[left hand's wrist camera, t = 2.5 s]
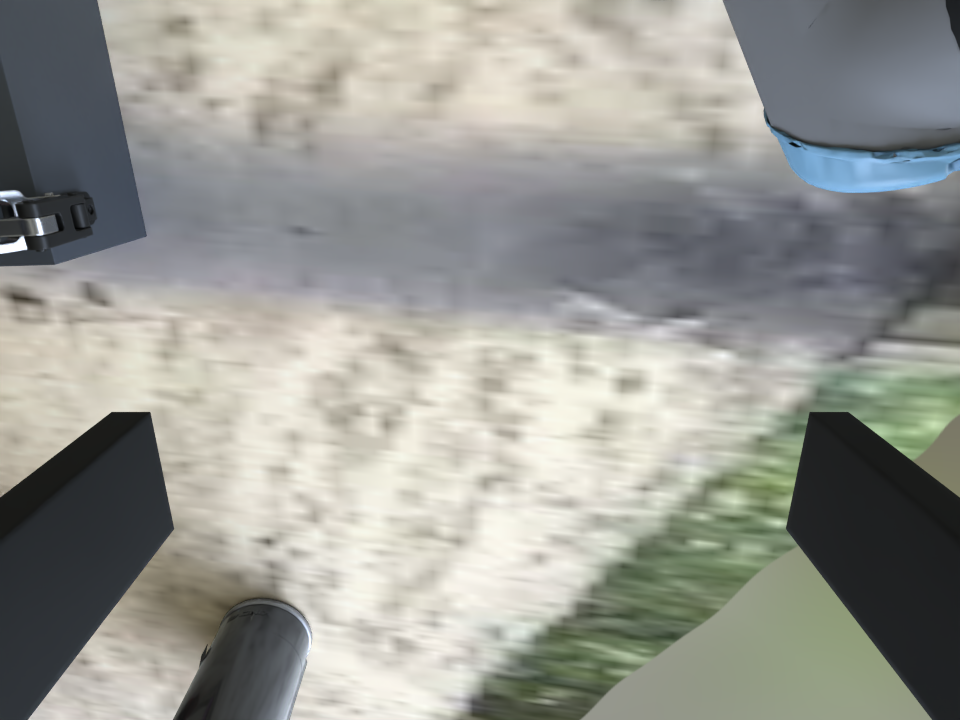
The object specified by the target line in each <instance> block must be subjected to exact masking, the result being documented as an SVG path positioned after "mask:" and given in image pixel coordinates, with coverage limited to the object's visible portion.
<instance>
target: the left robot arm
mask: <svg viewBox="0 0 960 720" xmlns="http://www.w3.org/2000/svg"><path fill="white" fill-rule="evenodd" d="M723 2H724V5H725V8H726V10H727V13H728V15H729V18H730V21H731V23H732V26H733V28H734V31H735V33H736V36H737V39H738V41H739V44H740V46H741V49H742V52H743V54H744V57H745V59H746V62H747V65H748V67H749V70H750V72H751V75H752V77H753V80H754V83H755V85H756V88H757V90H758V93H759V96H760V98H761V101H762V103H763V106H764V118H765V121H766V124H767V126H768V127H770V130H771V132H772V133H773V134H774V135H775V136H776V137H777V138H778V140H779V143H780V145H781V147H782V149H783V152H784V154H785V156H786V158H787V160H788V163H789V165H790V167H791V168H792V170H793V171H794V172H795V173H796V174H797V175H798V176H799V177H800V178H801V179H803V180H804V181H805V182H807V183H809V184H811V185H814V186H816V187H818V188H822V189H826V190H831V191H837V192H847V193H864V192H881V191H890V190H898V189H905V188H910V187H916V186H920V185H925V184H929V183H933V182H937V181H940V180H944V179H945V178H946V177H947V175H948V174H950V173H952V172H953V171H960V0H723ZM173 530H174V526H173V521H172V516H171V512H170V507H169V502H168V497H167V492H166V487H165V482H164V477H163V472H162V467H161V462H160V458H159V453H158V448H157V443H156V438H155V433H154V428H153V423H152V418H151V413H150V412H111V413H110V414H109V415H107V416H106V417H105V418H103V419H102V420H101V421H100V422H98V423H97V424H96V425H94V426H93V427H92V428H90V429H89V430H88V431H87V432H85V433H84V434H83V435H81V436H80V437H79V438H77V439H76V440H75V441H73V442H72V443H71V444H70V445H68V446H67V447H66V448H64V449H63V450H62V451H60V452H59V453H58V454H57V455H55V456H54V457H53V458H51V459H50V460H49V461H47V462H46V463H45V464H43V465H42V466H41V467H40V468H38V469H37V470H36V471H34V472H33V473H32V474H30V475H29V476H28V477H27V478H25V479H24V480H23V481H21V482H20V483H19V484H17V485H16V486H15V487H13V488H12V489H11V490H10V491H8V492H7V493H6V494H4V495H3V496H2V497H0V720H28V719H29V717H30V716H31V715H32V714H33V712H34V711H35V710H36V708H37V707H38V706H39V704H40V703H41V702H42V700H43V699H44V698H45V697H46V695H47V694H48V693H49V691H50V690H51V689H52V687H53V686H54V685H55V684H56V682H57V681H58V680H59V678H60V677H61V676H62V674H63V673H64V672H65V670H66V669H67V668H68V667H69V665H70V664H71V663H72V661H73V660H74V659H75V657H76V656H77V655H78V654H79V652H80V651H81V650H82V648H83V647H84V646H85V644H86V643H87V642H88V640H89V639H90V638H91V637H92V635H93V634H94V633H95V631H96V630H97V629H98V627H99V626H100V625H101V623H102V622H103V621H104V620H105V618H106V617H107V616H108V614H109V613H110V612H111V610H112V609H113V608H114V607H115V605H116V604H117V603H118V601H119V600H120V599H121V597H122V596H123V595H124V593H125V592H126V591H127V590H128V588H129V587H130V586H131V584H132V583H133V582H134V580H135V579H136V578H137V577H138V575H139V574H140V573H141V571H142V570H143V569H144V567H145V566H146V565H147V563H148V562H149V561H150V560H151V558H152V557H153V556H154V554H155V553H156V552H157V550H158V549H159V548H160V547H161V545H162V544H163V543H164V541H165V540H166V539H167V537H168V536H169V535H170V533H171V532H172V531H173ZM786 530H787V531H788V532H789V533H790V535H791V536H792V537H793V539H794V540H795V541H796V543H797V544H798V545H799V547H800V548H801V549H802V550H803V552H804V553H805V554H806V556H807V557H808V558H809V560H810V561H811V562H812V563H813V565H814V566H815V567H816V569H817V570H818V571H819V573H820V574H821V575H822V577H823V578H824V579H825V580H826V582H827V583H828V584H829V586H830V587H831V588H832V590H833V591H834V592H835V593H836V595H837V596H838V597H839V599H840V600H841V601H842V603H843V604H844V605H845V607H846V608H847V609H848V610H849V612H850V613H851V614H852V616H853V617H854V618H855V620H856V621H857V622H858V623H859V625H860V626H861V627H862V629H863V630H864V631H865V633H866V634H867V635H868V637H869V638H870V639H871V640H872V642H873V643H874V644H875V646H876V647H877V648H878V650H879V651H880V652H881V654H882V655H883V656H884V657H885V659H886V660H887V661H888V663H889V664H890V665H891V667H892V668H893V669H894V670H895V672H896V673H897V674H898V676H899V677H900V678H901V680H902V681H903V682H904V684H905V685H906V686H907V687H908V689H909V690H910V691H911V693H912V694H913V695H914V697H915V698H916V699H917V700H918V702H919V703H920V704H921V706H922V707H923V708H924V710H925V711H926V712H927V714H928V715H929V716H930V717H931V719H932V720H960V497H958V496H957V495H956V494H954V493H953V492H952V491H950V490H949V489H948V488H947V487H945V486H944V485H943V484H941V483H940V482H939V481H937V480H936V479H935V478H933V477H932V476H931V475H930V474H928V473H927V472H926V471H924V470H923V469H922V468H920V467H919V466H918V465H916V464H915V463H914V462H913V461H911V460H910V459H909V458H907V457H906V456H905V455H903V454H902V453H901V452H900V451H898V450H897V449H896V448H894V447H893V446H892V445H890V444H889V443H888V442H887V441H885V440H884V439H883V438H881V437H880V436H879V435H877V434H876V433H875V432H873V431H872V430H871V429H870V428H868V427H867V426H866V425H864V424H863V423H862V422H860V421H859V420H858V419H857V418H855V417H854V416H853V415H851V414H850V413H849V412H810V413H809V418H808V423H807V428H806V433H805V438H804V443H803V448H802V453H801V458H800V462H799V467H798V472H797V477H796V482H795V487H794V492H793V497H792V502H791V507H790V512H789V516H788V521H787V526H786Z"/></svg>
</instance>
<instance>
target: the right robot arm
mask: <svg viewBox="0 0 960 720" xmlns="http://www.w3.org/2000/svg"><path fill="white" fill-rule="evenodd" d="M0 207H1V210H2V213H3V217H4V218H0V241H1V237H7V239H6V240H5V241H3V242H0V254H3V253H9V252H15V251H22V250H36V252H43V251H47V250H46V249H49V248H53V247H56V246H59V245H63V244H66V243H69V242H72V241H75V240H78V239H81V238H87V237H88V236H91V235H93V232H92V228H91V227H90V225H93V224H94V223H95V220H96V219H97V214H96V210H95V206H94V202H93V198H90V195H89V194H88V193H87V192H70V193H63V194H53V192H48V193H44V195H39V196H28V197H25V196H24V195H23V194H22V193H21V192H19V191H17V190H0ZM311 643H312V633H311V629H310V626H309V624H308V622H307V621H306V619H305V618H304V617H303V616H302V615H301V614H300V613H299V612H298V611H297V610H296V609H294V608H293V607H291V606H289V605H287V604H285V603H283V602H280V601H276V600H271V599H252V600H248V601H244V602H242V603H239V604H238V605H236V606H234V607H233V608H232V609H230V610H229V611H228V613H227V614H226V615H225V617H224V618H223V620H222V622H221V625H220V627H219V631H218V633H217V634H216V636H215V638H214V640H213V642H212V644H211V646H210V648H209V650H208V652H207V654H206V650H207V646H206V648H205V650H204V652H203V654H202V656H201V661H200V666H199V670H198V671H197V673H196V675H195V677H194V679H193V681H192V683H191V685H190V687H189V689H188V691H187V693H186V695H185V697H184V699H183V701H182V703H181V705H180V707H179V709H178V711H177V713H176V715H175V717H174V719H173V720H289V719H290V716H291V713H292V710H293V707H294V703H295V700H296V697H297V694H298V690H299V687H300V684H301V681H302V677H303V674H304V671H305V668H306V665H307V660H306V657H307V655H308V653H309V650H310V647H311ZM207 645H208V644H207ZM205 655H206V656H205Z"/></svg>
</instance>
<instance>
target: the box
mask: <svg viewBox="0 0 960 720" xmlns="http://www.w3.org/2000/svg"><path fill="white" fill-rule="evenodd" d="M0 190H17V191H19V192H21V193H22V194H23V195H24V196H25V197H28V196H39V195H44V193H48V192H53V194H63V193H70V192H87V193H88V194H89V195H90V198H93V202H94V206H95V210H96V214H97V219H96V220H95V223H94V224H93V225H90V227H91V228H92V232H93V235H91V236H88V237H87V238H81V239H78V240H75V241H72V242H69V243H66V244H63V245H59V246H56V247H53V248H49V249H46V250H47V251H43V252H36V250H22V251H15V252H9V253H3V254H0V266H29V265H56V264H59V263H62V262H65V261H69V260H72V259H75V258H78V257H81V256H85V255H88V254H91V253H94V252H98V251H101V250H104V249H107V248H110V247H114V246H117V245H120V244H123V243H127V242H130V241H133V240H136V239H139V238H143V237H146V231H145V226H144V222H143V217H142V212H141V207H140V203H139V198H138V193H137V188H136V184H135V179H134V174H133V169H132V164H131V160H130V155H129V150H128V145H127V141H126V136H125V131H124V126H123V122H122V117H121V112H120V107H119V103H118V98H117V93H116V88H115V83H114V79H113V74H112V69H111V64H110V60H109V55H108V50H107V45H106V41H105V36H104V31H103V26H102V21H101V17H100V12H99V7H98V2H97V0H0ZM0 218H4V217H3V213H2V210H1V207H0ZM6 239H7V237H1V241H0V242H3V241H5V240H6Z"/></svg>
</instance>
